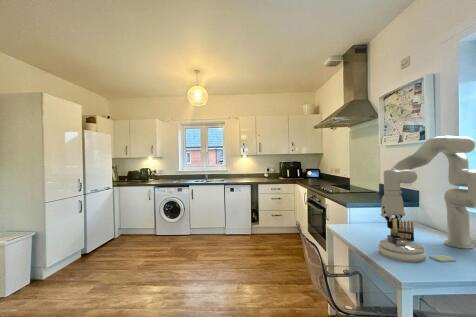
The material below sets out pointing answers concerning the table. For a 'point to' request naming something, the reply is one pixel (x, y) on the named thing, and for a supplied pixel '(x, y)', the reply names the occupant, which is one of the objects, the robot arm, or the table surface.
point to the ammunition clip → (406, 231)
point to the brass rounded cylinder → (394, 227)
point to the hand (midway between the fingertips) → (393, 227)
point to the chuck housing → (402, 256)
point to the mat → (443, 258)
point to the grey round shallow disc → (401, 245)
